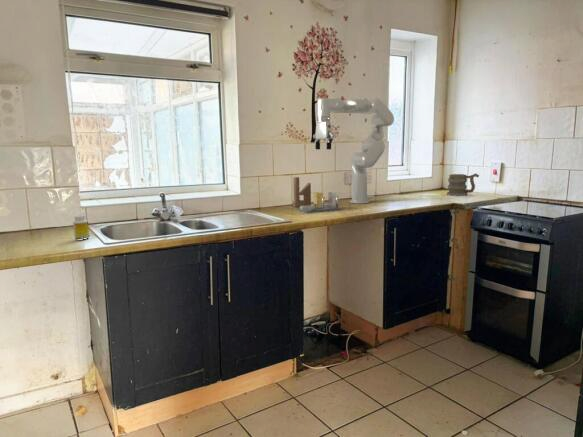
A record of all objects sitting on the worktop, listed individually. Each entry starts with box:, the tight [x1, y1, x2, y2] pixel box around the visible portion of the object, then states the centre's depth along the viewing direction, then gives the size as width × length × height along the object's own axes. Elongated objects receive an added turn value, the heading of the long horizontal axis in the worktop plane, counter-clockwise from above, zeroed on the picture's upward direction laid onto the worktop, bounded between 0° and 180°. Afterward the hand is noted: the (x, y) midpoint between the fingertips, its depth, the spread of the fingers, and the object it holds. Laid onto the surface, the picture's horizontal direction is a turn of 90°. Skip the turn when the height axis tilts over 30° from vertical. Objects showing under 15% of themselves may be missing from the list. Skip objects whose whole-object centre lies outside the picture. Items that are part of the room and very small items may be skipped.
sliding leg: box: [312, 191, 326, 208], centre depth 250 cm, size 4×9×8 cm, turn 24°
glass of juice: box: [72, 214, 90, 240], centre depth 186 cm, size 6×6×10 cm
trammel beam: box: [299, 191, 340, 209], centre depth 250 cm, size 21×9×8 cm, turn 114°
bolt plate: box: [296, 205, 342, 214], centre depth 252 cm, size 22×13×1 cm, turn 114°
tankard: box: [446, 173, 480, 197], centre depth 301 cm, size 20×13×15 cm, turn 55°
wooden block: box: [292, 176, 312, 208], centre depth 267 cm, size 4×11×18 cm, turn 113°
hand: (323, 149), depth 260 cm, fingers open, 9 cm apart
